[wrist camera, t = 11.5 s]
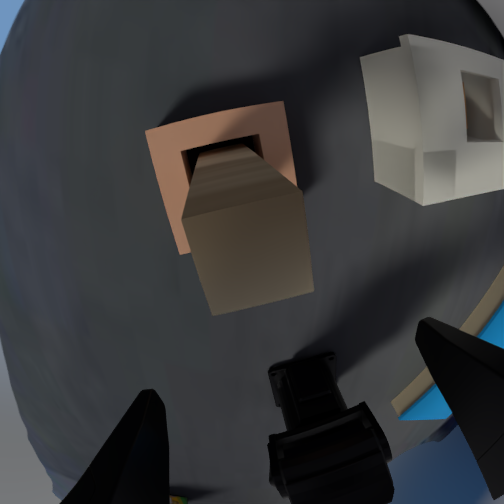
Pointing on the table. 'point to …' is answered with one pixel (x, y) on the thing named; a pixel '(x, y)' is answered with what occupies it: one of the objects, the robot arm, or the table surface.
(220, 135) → the holder
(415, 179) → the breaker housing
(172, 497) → the printed toy box
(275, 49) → the table surface
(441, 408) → the book
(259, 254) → the tan square peg
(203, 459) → the table surface
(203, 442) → the table surface
